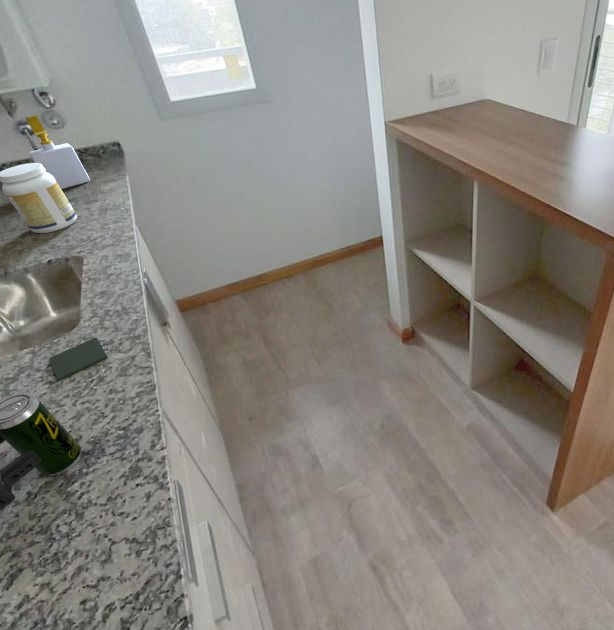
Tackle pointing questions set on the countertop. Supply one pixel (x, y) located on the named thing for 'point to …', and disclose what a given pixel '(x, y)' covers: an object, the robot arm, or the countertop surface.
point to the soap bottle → (57, 158)
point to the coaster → (77, 358)
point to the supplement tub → (37, 198)
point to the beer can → (37, 434)
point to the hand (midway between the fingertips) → (18, 442)
